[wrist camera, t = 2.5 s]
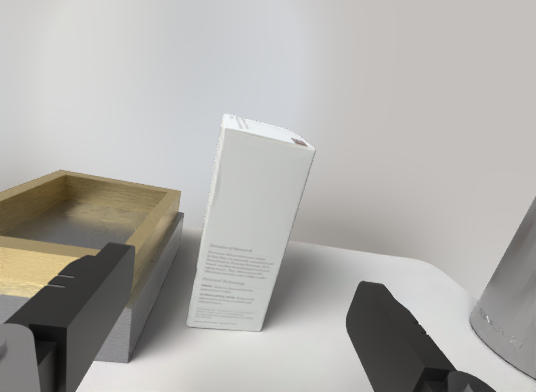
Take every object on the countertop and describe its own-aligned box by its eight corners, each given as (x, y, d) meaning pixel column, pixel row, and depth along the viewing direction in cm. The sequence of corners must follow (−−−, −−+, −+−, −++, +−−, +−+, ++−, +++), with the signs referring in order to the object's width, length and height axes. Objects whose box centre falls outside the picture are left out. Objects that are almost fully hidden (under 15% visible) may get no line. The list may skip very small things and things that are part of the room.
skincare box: (195, 266, 27) (219, 111, 23) (255, 271, 29) (289, 126, 24) (184, 334, 19) (217, 119, 15) (267, 337, 21) (321, 141, 16)
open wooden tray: (179, 246, 30) (187, 190, 28) (127, 362, 17) (134, 271, 15) (26, 224, 28) (23, 161, 26) (-173, 336, 14) (-212, 225, 12)
